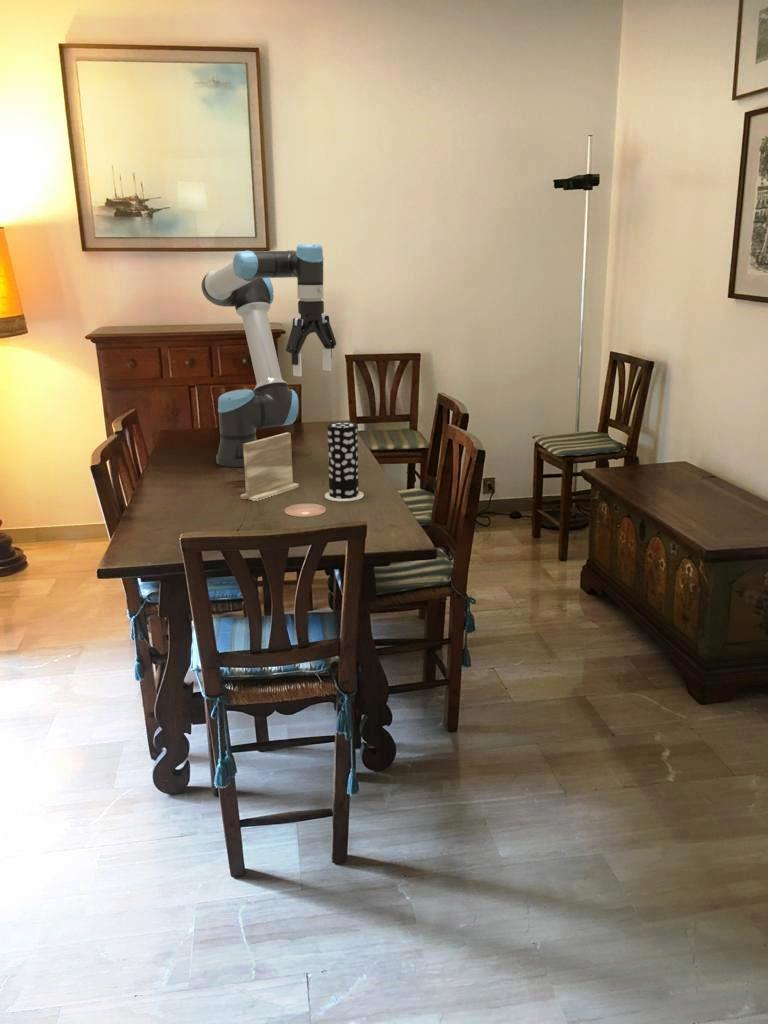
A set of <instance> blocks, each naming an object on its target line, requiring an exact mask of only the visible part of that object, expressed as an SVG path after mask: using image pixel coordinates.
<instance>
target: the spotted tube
mask: <svg viewBox="0 0 768 1024" xmlns="http://www.w3.org/2000/svg"><path fill="white" fill-rule="evenodd" d="M358 426H359V425H358V424H357V423H355V422H349V421H341V422H332V423H331V422H330V423H329V424H327V425H326V427H327V457H328V458H327V459H328V461H327V462H328V463H327V464H328V489H329V491H328V492H329V495H330V496H331V497H333V498H338V499H348V498H354V497H357V496H358V495H359V491H360V490H359V483H360V482H359V441H358V440H359V437H358V436H359V434H358V433H359V430H358V428H359V427H358Z"/></svg>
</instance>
